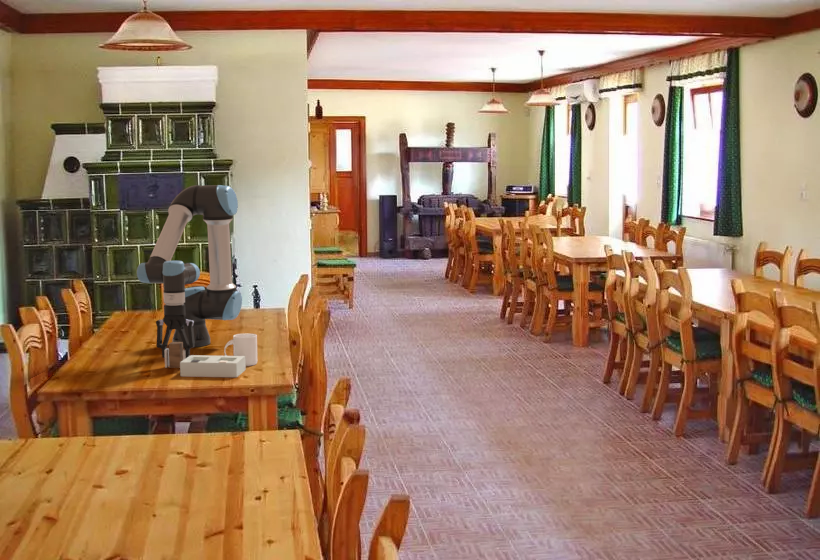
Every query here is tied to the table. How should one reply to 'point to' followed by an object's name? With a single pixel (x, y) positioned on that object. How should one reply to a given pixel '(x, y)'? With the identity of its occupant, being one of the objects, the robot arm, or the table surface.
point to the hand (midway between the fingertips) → (176, 366)
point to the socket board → (212, 366)
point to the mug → (245, 347)
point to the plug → (175, 354)
